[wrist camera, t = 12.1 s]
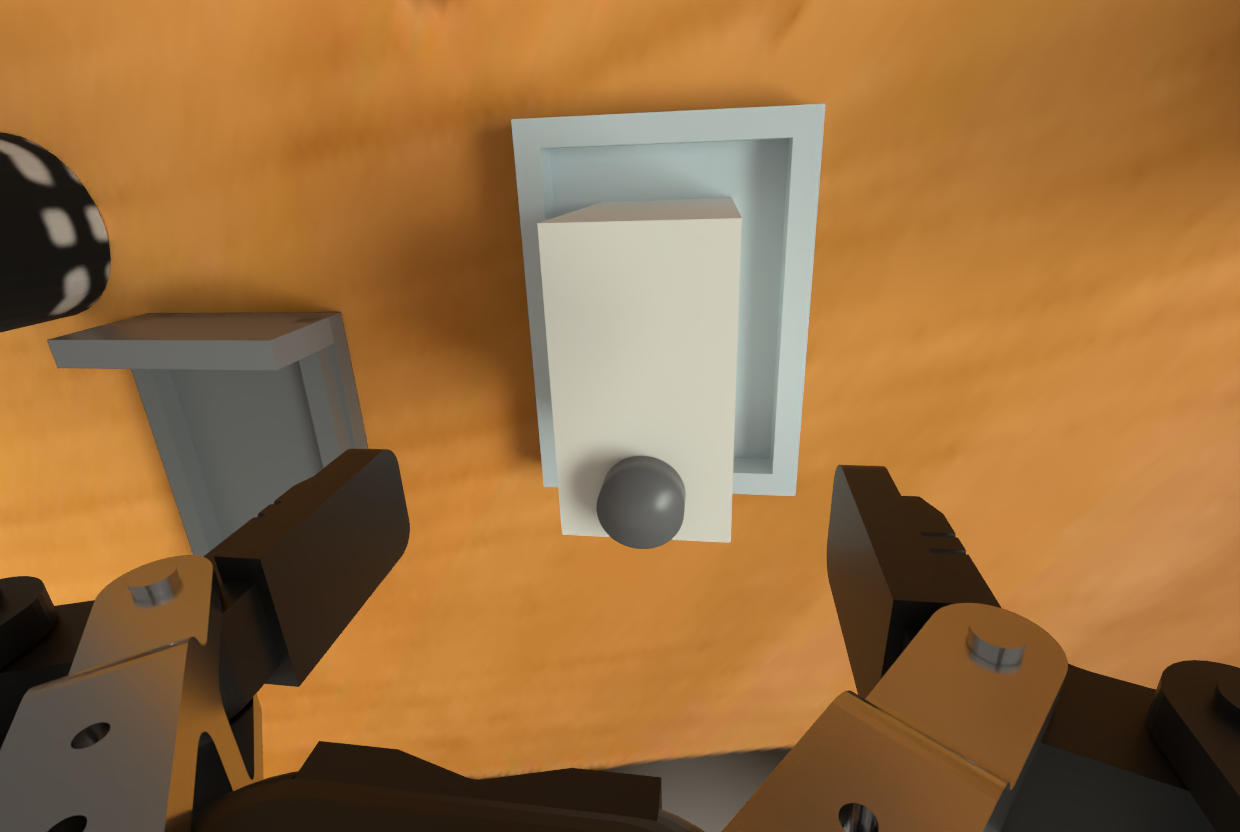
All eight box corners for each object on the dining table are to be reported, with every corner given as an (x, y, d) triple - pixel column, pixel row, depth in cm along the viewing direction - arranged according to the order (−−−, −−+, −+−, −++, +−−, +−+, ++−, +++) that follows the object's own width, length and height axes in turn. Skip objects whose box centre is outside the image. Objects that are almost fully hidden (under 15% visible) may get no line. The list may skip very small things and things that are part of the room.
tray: (526, 122, 25) (511, 119, 23) (816, 108, 23) (825, 103, 21) (554, 466, 30) (543, 486, 28) (789, 473, 29) (795, 495, 27)
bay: (148, 313, 30) (47, 339, 26) (341, 312, 29) (270, 340, 24) (225, 559, 35) (152, 618, 31) (392, 569, 34) (341, 632, 29)
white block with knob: (603, 201, 25) (525, 226, 15) (731, 197, 24) (743, 221, 14) (612, 413, 28) (554, 553, 18) (725, 415, 27) (731, 562, 17)
